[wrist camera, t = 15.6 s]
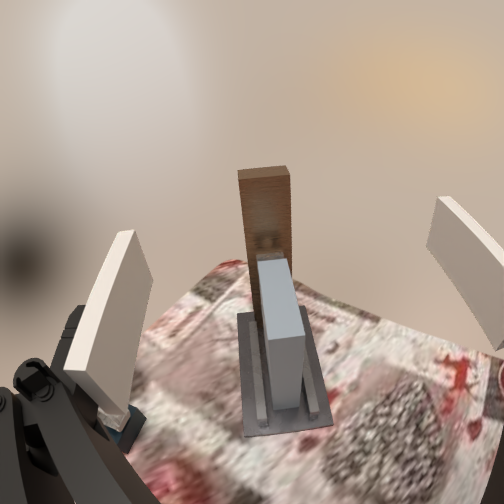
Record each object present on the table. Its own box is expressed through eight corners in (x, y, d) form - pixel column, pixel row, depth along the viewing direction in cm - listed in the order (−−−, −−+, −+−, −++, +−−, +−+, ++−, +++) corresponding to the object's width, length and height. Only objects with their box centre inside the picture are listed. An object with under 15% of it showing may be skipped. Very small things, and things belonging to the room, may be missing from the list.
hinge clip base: (304, 307, 46) (307, 161, 32) (333, 425, 30) (378, 280, 17) (237, 315, 46) (213, 170, 32) (244, 437, 30) (202, 301, 17)
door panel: (286, 335, 41) (285, 253, 33) (299, 406, 33) (305, 335, 24) (264, 338, 41) (256, 256, 33) (273, 410, 33) (267, 339, 24)
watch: (108, 401, 34) (67, 352, 28) (158, 423, 32) (121, 378, 25) (89, 433, 30) (40, 391, 24) (139, 460, 28) (93, 425, 21)
